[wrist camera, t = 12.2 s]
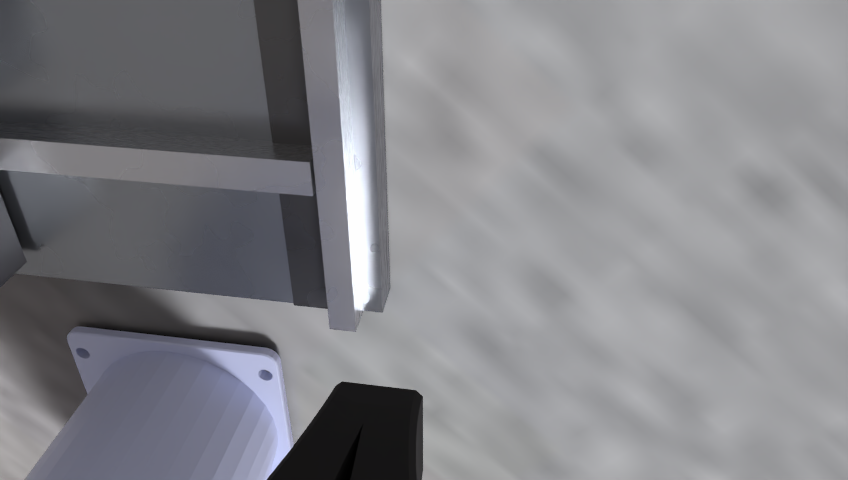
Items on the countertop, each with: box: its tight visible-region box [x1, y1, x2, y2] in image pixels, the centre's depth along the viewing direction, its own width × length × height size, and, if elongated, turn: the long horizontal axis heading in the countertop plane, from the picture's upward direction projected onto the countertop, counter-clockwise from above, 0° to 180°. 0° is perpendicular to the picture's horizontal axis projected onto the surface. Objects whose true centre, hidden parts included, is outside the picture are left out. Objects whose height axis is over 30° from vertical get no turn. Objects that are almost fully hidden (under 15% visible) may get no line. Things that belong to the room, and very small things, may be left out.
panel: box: [0, 0, 390, 332], centre depth 19 cm, size 16×20×2 cm
